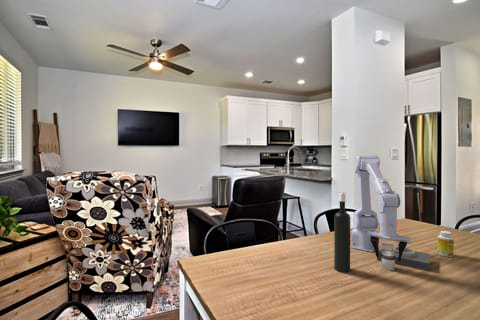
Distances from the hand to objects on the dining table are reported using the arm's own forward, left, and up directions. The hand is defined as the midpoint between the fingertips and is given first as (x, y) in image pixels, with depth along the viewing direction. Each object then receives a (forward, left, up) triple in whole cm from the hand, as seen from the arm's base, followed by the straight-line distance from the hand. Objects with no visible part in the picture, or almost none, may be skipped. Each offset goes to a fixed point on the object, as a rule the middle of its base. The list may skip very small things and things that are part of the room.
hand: (388, 258), depth 103 cm
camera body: (+4, +12, -4) cm, 13 cm away
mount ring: (+4, +12, -1) cm, 13 cm away
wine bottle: (-14, -12, -4) cm, 19 cm away
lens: (0, 0, -4) cm, 4 cm away
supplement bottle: (+18, +30, -4) cm, 35 cm away
